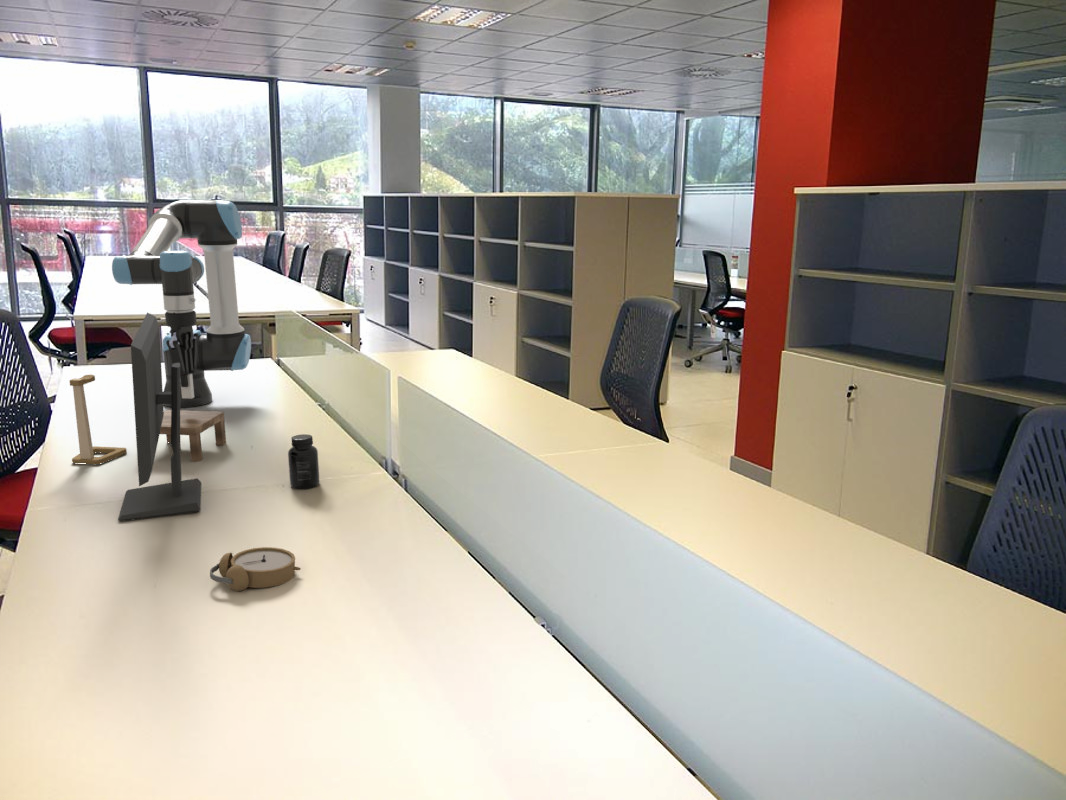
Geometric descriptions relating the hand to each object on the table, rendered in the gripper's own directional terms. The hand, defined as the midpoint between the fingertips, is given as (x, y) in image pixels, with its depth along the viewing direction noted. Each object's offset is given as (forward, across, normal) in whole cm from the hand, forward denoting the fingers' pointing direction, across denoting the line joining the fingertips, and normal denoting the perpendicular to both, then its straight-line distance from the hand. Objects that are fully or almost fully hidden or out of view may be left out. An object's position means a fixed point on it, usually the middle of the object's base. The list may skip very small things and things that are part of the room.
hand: (188, 397), depth 223 cm
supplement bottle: (+14, -26, -41) cm, 51 cm away
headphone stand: (+14, -13, +19) cm, 27 cm away
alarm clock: (+14, -74, -49) cm, 90 cm away
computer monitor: (+14, -41, -14) cm, 46 cm away
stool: (+9, +3, 0) cm, 10 cm away
